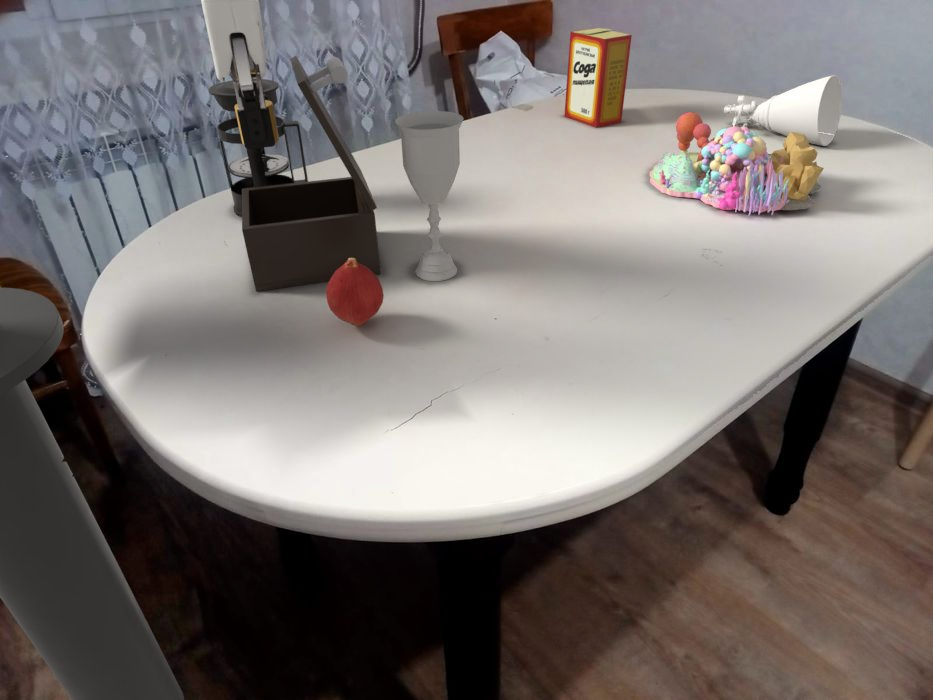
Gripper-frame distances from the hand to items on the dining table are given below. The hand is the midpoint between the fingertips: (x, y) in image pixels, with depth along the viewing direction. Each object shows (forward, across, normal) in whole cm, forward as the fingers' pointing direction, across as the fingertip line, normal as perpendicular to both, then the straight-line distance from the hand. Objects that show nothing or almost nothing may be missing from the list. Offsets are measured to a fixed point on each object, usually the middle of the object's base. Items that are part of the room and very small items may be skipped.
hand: (259, 138), depth 73 cm
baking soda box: (+16, -45, +62) cm, 79 cm away
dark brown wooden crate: (+15, 0, +4) cm, 16 cm away
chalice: (+16, +8, +18) cm, 25 cm away
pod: (0, 0, 0) cm, 0 cm away
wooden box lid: (0, 0, +8) cm, 8 cm away
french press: (+16, -19, -1) cm, 25 cm away
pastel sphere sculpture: (+16, -6, +68) cm, 70 cm away
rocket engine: (+16, -26, +92) cm, 97 cm away
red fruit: (+16, +17, +7) cm, 24 cm away
